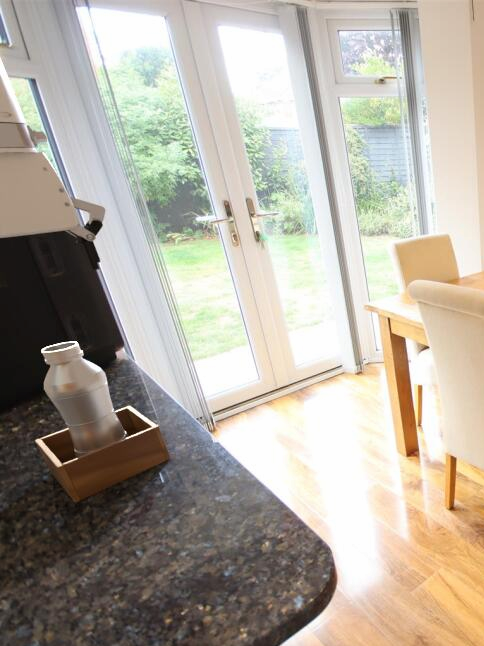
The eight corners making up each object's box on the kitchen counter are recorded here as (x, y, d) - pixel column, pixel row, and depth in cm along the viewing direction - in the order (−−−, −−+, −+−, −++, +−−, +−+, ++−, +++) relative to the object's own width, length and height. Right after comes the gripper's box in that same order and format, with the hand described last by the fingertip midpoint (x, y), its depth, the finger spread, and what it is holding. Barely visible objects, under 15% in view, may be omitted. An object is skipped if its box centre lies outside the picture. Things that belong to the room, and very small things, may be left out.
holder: (51, 473, 70) (34, 440, 67) (142, 436, 78) (129, 405, 76) (75, 503, 63) (57, 467, 61) (171, 458, 72) (158, 426, 70)
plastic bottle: (81, 466, 71) (25, 348, 63) (136, 447, 75) (89, 334, 68) (85, 486, 67) (25, 361, 59) (142, 464, 71) (93, 345, 63)
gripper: (67, 142, 65) (111, 261, 72) (-128, 142, 51) (-52, 290, 58) (90, 139, 62) (135, 265, 68) (-113, 139, 48) (-33, 297, 54)
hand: (49, 276), depth 63 cm, fingers open, 9 cm apart
